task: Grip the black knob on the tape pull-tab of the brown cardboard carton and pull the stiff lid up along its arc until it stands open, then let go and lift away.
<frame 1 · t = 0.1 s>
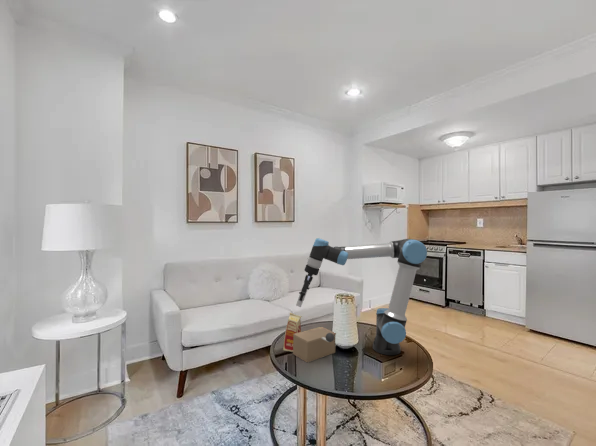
hand: (300, 302, 158), 28 cm above the table, tool tilted 20°, fingers open, 13 cm apart
carton: (314, 353, 159), on the table
carton lid: (319, 332, 156), point 12 cm above the table, hinge at 0.0°
milk carton: (293, 348, 166), on the table
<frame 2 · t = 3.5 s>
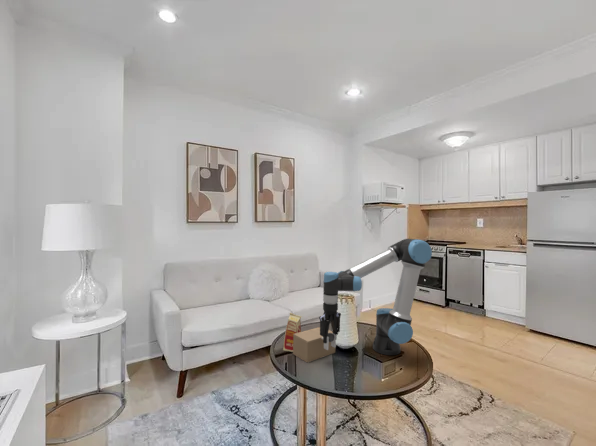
hand: (329, 347, 150), 7 cm above the table, tool pointing down, fingers closed on carton lid, 4 cm apart
carton lid: (319, 332, 156), point 12 cm above the table, hinge at 0.0°, touching gripper
everything else where it was.
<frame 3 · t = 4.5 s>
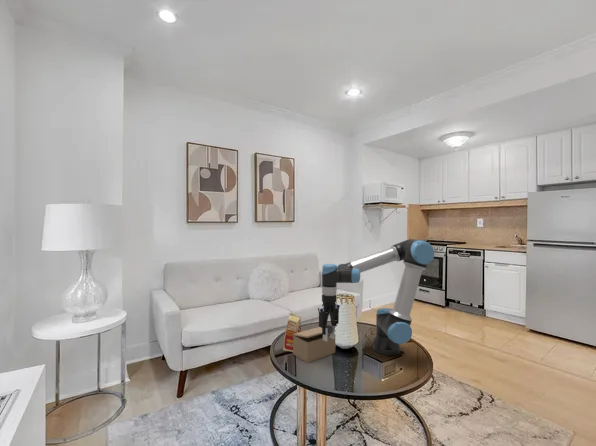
hand: (328, 339, 150), 11 cm above the table, tool pointing down, fingers closed on carton lid, 4 cm apart
carton lid: (318, 328, 157), point 14 cm above the table, hinge at 12.0°, touching gripper
everything else where it was.
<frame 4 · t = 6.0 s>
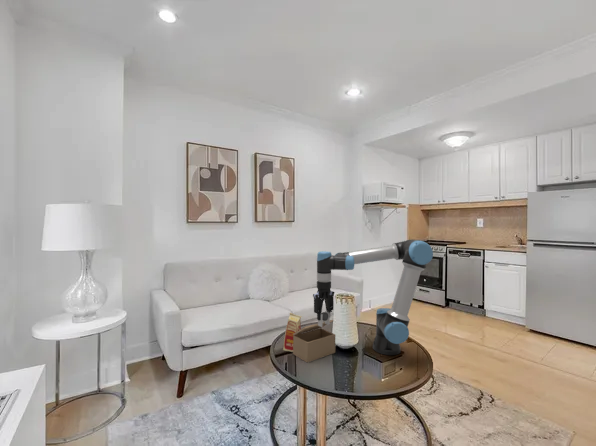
hand: (323, 325, 154), 18 cm above the table, tool pointing down, fingers closed on carton lid, 4 cm apart
carton lid: (316, 321, 158), point 18 cm above the table, hinge at 33.8°, touching gripper
everything else where it was.
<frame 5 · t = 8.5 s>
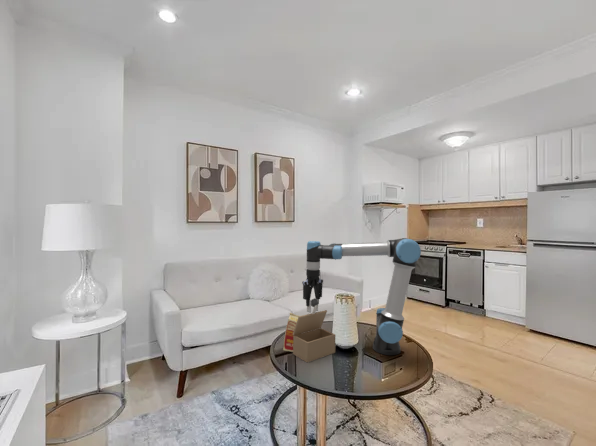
hand: (312, 311, 161), 23 cm above the table, tool pointing down, fingers closed on carton lid, 4 cm apart
carton lid: (310, 314, 162), point 20 cm above the table, hinge at 65.3°, touching gripper
everything else where it was.
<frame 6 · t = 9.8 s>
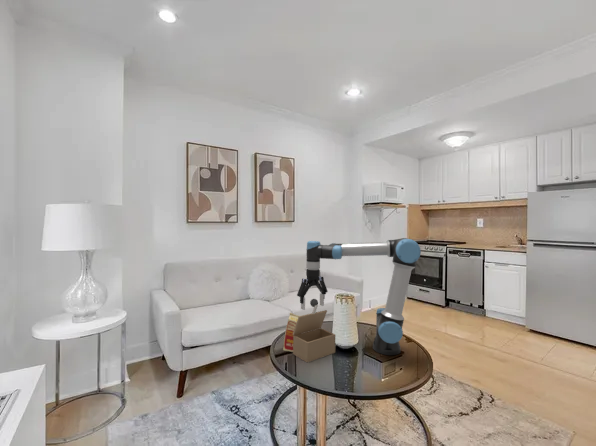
hand: (312, 307, 161), 25 cm above the table, tool pointing down, fingers open, 13 cm apart
carton lid: (310, 314, 162), point 20 cm above the table, hinge at 65.4°
everything else where it was.
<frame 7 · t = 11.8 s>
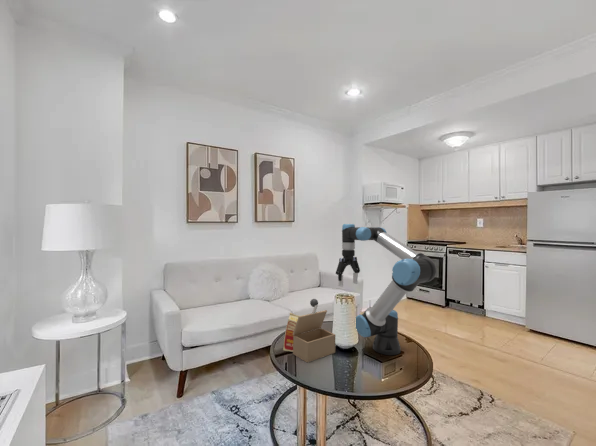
hand: (348, 284, 175), 35 cm above the table, tool pointing down, fingers open, 13 cm apart
nothing on the table moved.
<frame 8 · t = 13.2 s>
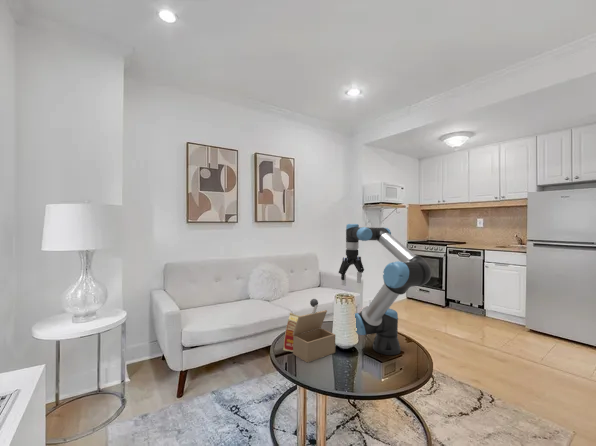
hand: (351, 284, 177), 35 cm above the table, tool pointing down, fingers open, 13 cm apart
nothing on the table moved.
at the end: carton lid at +65° (first picture: +0°); the gripper is holding nothing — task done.
